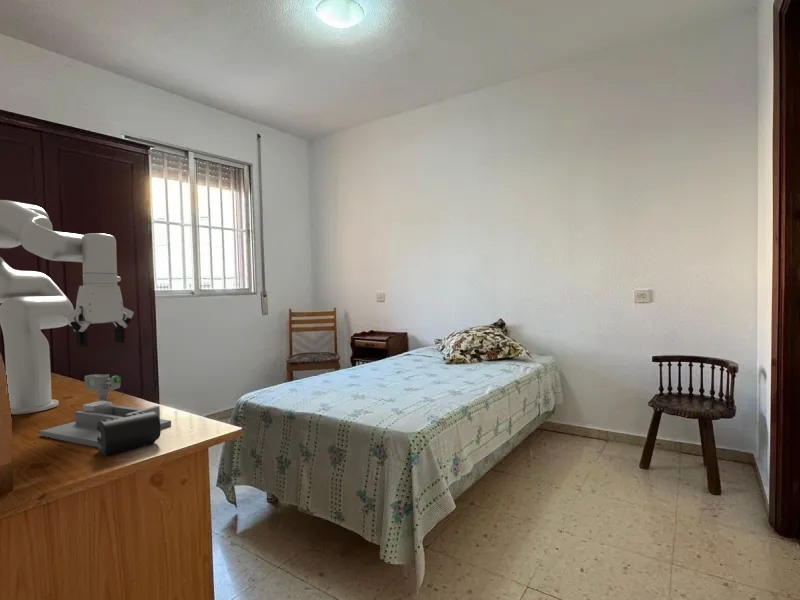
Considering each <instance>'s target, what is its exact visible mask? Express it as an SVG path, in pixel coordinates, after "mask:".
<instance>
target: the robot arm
mask: <svg viewBox="0 0 800 600" xmlns="http://www.w3.org/2000/svg"><path fill="white" fill-rule="evenodd" d="M53 229H54V228H53V223H52V222H51V220H50V216H49V215H48V212H46V211H45V209H44V208H42V207H40V206H38V205H35V204H30V203H25V202H19V201H13V200H8V199H5V200H4V199H0V249H12V248H16V247H19V246H21V247H23V249H24V250H26V251H28V252H29V253H32V254H33V255H35V256H38V257H40V258H43V259H45V260H49V261H55V262H73V263H82V285H79V286H78V291H77V295H76V301H75V303H76V304H75V309H74V306H73V303H72V302H71V301H70V299H69V298H68V296H67V295H66V294H65V293H64V292H63V290H62V289H60V287H59V286H58V285H57V284H56V283H55V281H53V279H52V278H50V277H49V276H48V275H46V274H45V273H43V272H40V271H35V270H19V269H14V268H13V267H11V266H10V265H9V264H8V263H7V262H6V261H5V260H4V259H3V257H2V256H0V327H1V331H2V335H3V344H4V359H5V360H4V361H5V376H6V375H7V384H8V393H9V401H10V408H11V413H12V415H24V414H25V415H26V414H31V413H37V412H42V411H46V410H50V409H54V408H56V407H58V406H59V403H60V402H59V400H57V399H52V379H51V378H52V375H51V374H52V373H51V357H50V356H51V351H50V343H49V341H48V339H47V337H46V336H45V335H44V333H43V332H42V330H46V329H47V330H48V329H57V328H61V327H65V326H69V327H70V328H71V329H72V330H73V332H75V337H76V338H75V341H76V346H77V347H79V348H87V347H88V345H89V344H88V343H89V342H88V331H86V330H87V329H88V327H89V326H90V324H94V325H95V324H107V323H113V324H114V325H115V327H114V343H119V344H120V343H121V344H122V343H123V344H124V343H125V339H126V328H128V325H129V323H130V322H131V321H132V318H133V316H134V314H135V313H134V311H133V310H130V309H128V308H126V307H125V306H124V302H123V301H124V300H123V297H122V296H123V295H122V292H121V287H120V285H118V282H121V280H122V277H121V276H118V266H117V265H118V263H117V261H118V259H117V240H116V237H115V236H114V235H111V234H107V233H101V232H99V233H97V232H96V233H93V232H92V233H91V232H90V233H84V234H79V233H72V232H67V231H66V232H63V231H56V230H53ZM12 415H11V416H12Z"/></svg>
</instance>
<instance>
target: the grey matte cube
mask: <svg viewBox="0 0 800 600" xmlns="http://www.w3.org/2000/svg"><path fill="white" fill-rule="evenodd" d="M112 405H113V402H112V401H108V400H107V401H100V400H98V401H94V402H90V403H85V404H83V405H82V411H86V412H93V413H100V414H107V415H113V411H112Z"/></svg>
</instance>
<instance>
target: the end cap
mask: <svg viewBox="0 0 800 600" xmlns="http://www.w3.org/2000/svg"><path fill="white" fill-rule="evenodd" d="M96 429H97V430H98V431H99V432H101V436H98V438H97V440H98V444H100V445H101V448H99V447H98V452H99V453H101V454H102V455H103V456H109V455H114V454H117V453H120V452H124V451H128V450H133V449H136V448H140V447H144V446H148V445H152V444H155V442H156V441H157V440H159V438H160V436H161V431H162V429H161V425H160V420H159V417H158V415H157V413H156V412H149V413H144V412H139V413H136V414H134V413H133V414H131V415H130V417H125V418H120V419H115V418H110V419H107V420H105V419H104V420H102V421H99V422H98V423H97V428H96Z"/></svg>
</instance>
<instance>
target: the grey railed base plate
mask: <svg viewBox="0 0 800 600" xmlns="http://www.w3.org/2000/svg"><path fill="white" fill-rule="evenodd" d="M160 410H161V409H160V405H154V406H151V407H147V408H137V407H130V406H123V405H115V404H112V411H113V415H107V414H100V413H93V412H86V411H83V410H78V411H75V412H74V414H75V415H74V416H75V421H72V422H69V423H64V424H61V425H57V426H53V427H49V428H44V429H42V430H40V434H39V435H40V437H43V436H45V437H44V438H48V437H50V438H49V439H53V438H54V439H55V440H58V439H59V441H63V440H64V441H63V442H69V443H74V444H79V445H85V446H90V447H95V448H98V449H99V448H101V445H100V444H98V440H97V438H98V436H101V432H99V431H98V430H97V429H96V428H97V423H98V422H99V421H102V420H104V419H105V420H107V419H110V418H115V419H120V418H125V417H130V415H131V414H133V413H134V414H136V413H139V412H144V413H149V412H156V413H157V415H158V417H159V420H160V425H161V430H162V429H165V428H169V427H171V426H172V420H169V419H162V418H161V412H160Z"/></svg>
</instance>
